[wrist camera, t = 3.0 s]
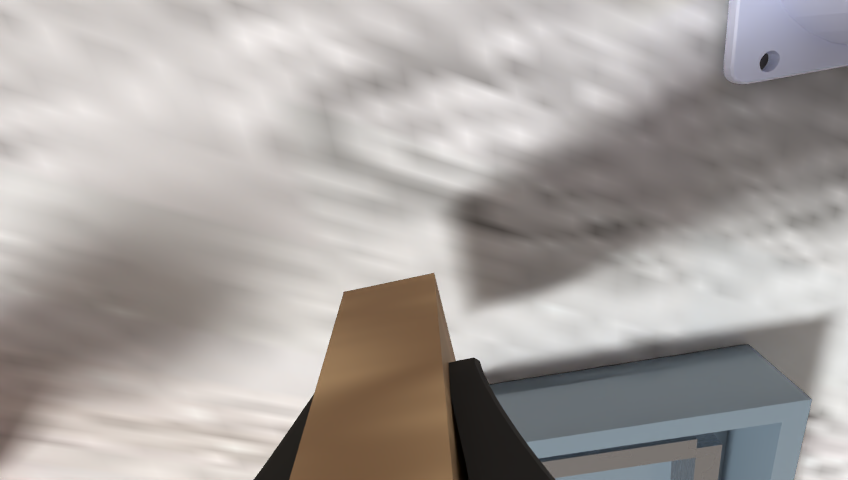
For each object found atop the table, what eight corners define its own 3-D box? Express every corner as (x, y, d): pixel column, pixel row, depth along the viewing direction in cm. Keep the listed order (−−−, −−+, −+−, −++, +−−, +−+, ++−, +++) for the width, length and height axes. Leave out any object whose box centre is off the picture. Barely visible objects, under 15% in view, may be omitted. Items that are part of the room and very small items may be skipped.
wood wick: (434, 273, 11) (460, 570, 5) (463, 391, 13) (512, 735, 6) (343, 291, 11) (253, 604, 5) (383, 406, 13) (353, 757, 7)
